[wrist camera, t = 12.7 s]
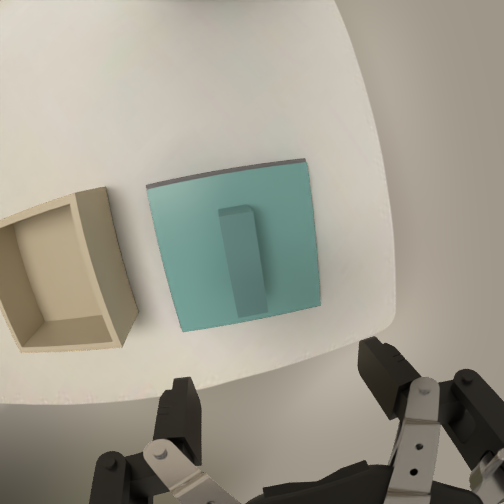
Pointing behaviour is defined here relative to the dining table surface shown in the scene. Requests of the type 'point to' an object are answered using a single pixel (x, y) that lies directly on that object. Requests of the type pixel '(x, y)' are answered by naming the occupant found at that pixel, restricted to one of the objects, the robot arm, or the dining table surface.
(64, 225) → the storage box
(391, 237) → the dining table surface
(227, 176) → the lid
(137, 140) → the dining table surface
